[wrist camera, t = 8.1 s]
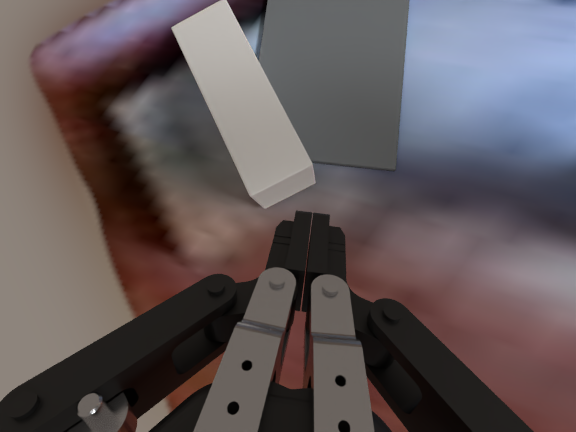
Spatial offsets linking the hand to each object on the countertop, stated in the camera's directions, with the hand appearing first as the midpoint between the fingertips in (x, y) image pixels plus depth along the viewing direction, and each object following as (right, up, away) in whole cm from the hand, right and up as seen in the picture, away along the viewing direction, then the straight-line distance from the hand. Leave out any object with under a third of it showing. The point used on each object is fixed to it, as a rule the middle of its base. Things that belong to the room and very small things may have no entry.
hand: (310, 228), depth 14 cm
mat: (+4, +18, +20) cm, 27 cm away
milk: (-1, +3, +14) cm, 15 cm away
